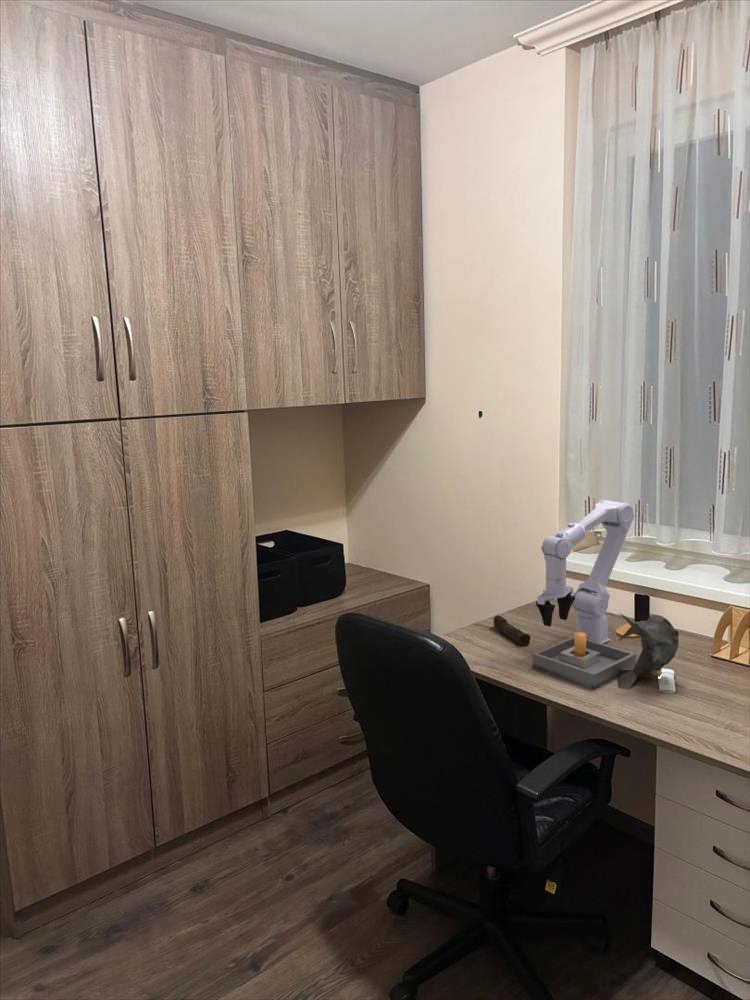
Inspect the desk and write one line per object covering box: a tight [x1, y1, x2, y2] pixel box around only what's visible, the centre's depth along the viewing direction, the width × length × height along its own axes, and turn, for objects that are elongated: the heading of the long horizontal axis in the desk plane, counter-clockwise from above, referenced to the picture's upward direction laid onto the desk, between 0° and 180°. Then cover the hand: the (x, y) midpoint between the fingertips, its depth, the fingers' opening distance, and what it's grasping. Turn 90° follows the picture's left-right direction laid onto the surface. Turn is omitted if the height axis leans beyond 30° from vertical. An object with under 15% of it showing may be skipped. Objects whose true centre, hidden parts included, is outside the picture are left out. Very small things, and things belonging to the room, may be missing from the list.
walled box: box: [532, 635, 637, 690], centre depth 210 cm, size 20×20×4 cm
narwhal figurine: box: [616, 612, 680, 690], centre depth 200 cm, size 14×15×18 cm
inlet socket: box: [560, 647, 601, 669], centre depth 212 cm, size 8×8×2 cm
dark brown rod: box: [493, 615, 531, 647], centre depth 236 cm, size 19×4×5 cm, turn 18°
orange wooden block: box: [573, 631, 586, 657], centre depth 212 cm, size 3×3×8 cm
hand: (555, 622), depth 220 cm, fingers open, 7 cm apart
